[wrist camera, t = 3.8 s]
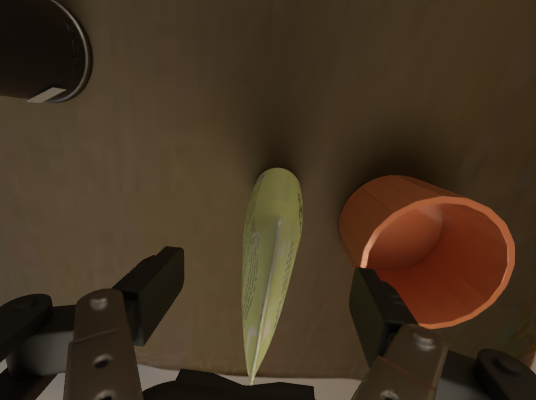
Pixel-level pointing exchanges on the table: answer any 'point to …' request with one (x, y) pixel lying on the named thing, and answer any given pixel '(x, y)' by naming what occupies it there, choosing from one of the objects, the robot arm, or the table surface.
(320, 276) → the table surface
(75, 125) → the table surface
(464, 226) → the pen cup
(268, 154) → the table surface
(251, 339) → the tube
